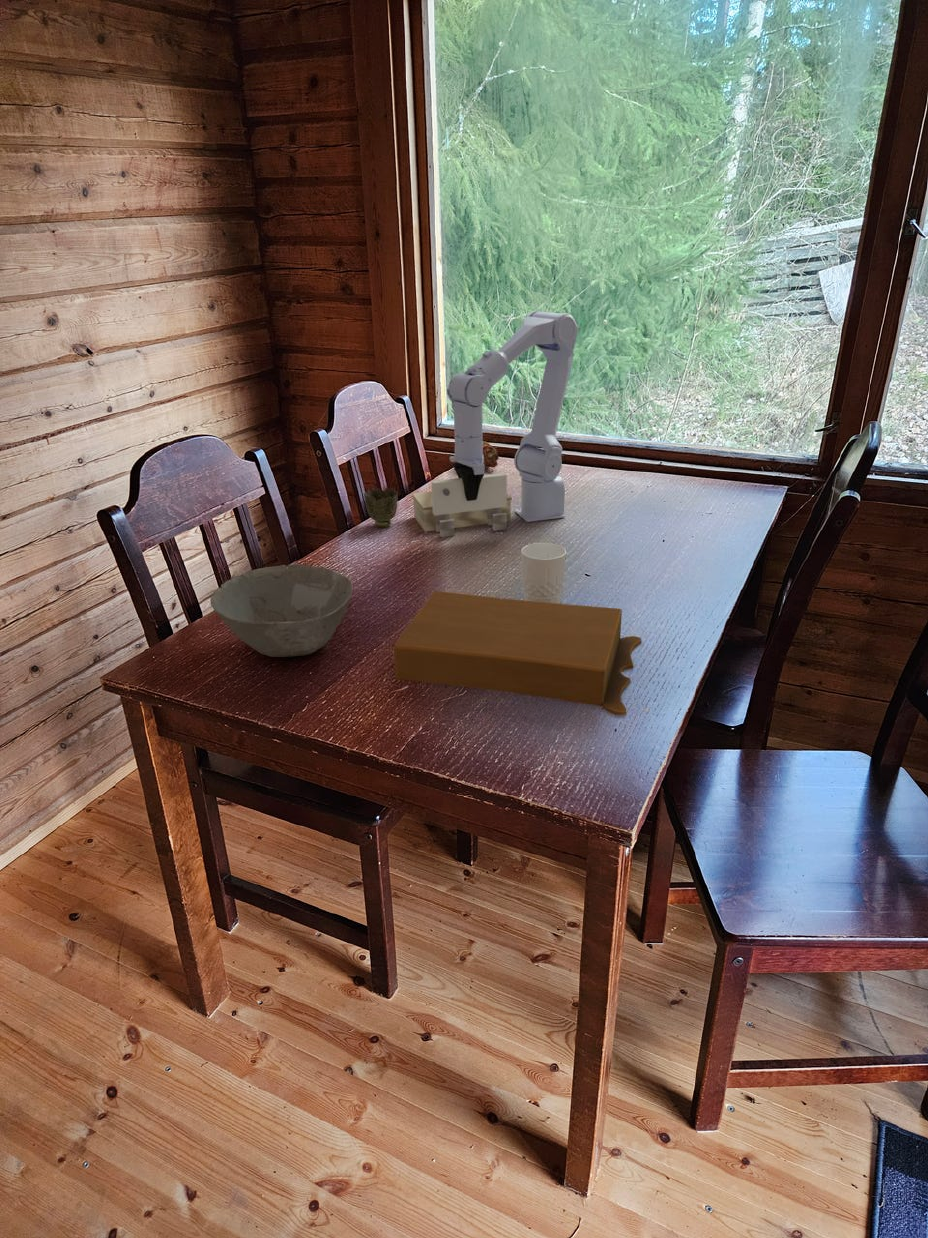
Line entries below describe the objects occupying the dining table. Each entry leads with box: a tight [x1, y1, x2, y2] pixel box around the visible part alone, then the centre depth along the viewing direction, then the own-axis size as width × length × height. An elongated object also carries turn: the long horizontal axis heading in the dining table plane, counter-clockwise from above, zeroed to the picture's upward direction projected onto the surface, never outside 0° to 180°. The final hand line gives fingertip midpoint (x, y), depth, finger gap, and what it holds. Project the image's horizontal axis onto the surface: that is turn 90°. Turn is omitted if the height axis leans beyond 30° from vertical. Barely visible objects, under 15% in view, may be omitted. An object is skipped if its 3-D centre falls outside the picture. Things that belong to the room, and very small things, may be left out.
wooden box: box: [392, 590, 642, 716], centre depth 131 cm, size 23×6×35 cm
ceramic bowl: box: [210, 563, 354, 658], centre depth 136 cm, size 22×23×10 cm
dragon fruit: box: [483, 440, 500, 472], centre depth 224 cm, size 8×8×12 cm
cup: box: [363, 487, 399, 529], centre depth 186 cm, size 8×7×8 cm
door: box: [431, 472, 508, 515], centre depth 176 cm, size 16×3×7 cm, turn 107°
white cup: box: [520, 542, 567, 604], centre depth 149 cm, size 8×8×10 cm
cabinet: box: [411, 491, 513, 538], centre depth 188 cm, size 20×15×6 cm
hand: (469, 498), depth 177 cm, fingers closed on door, 2 cm apart
